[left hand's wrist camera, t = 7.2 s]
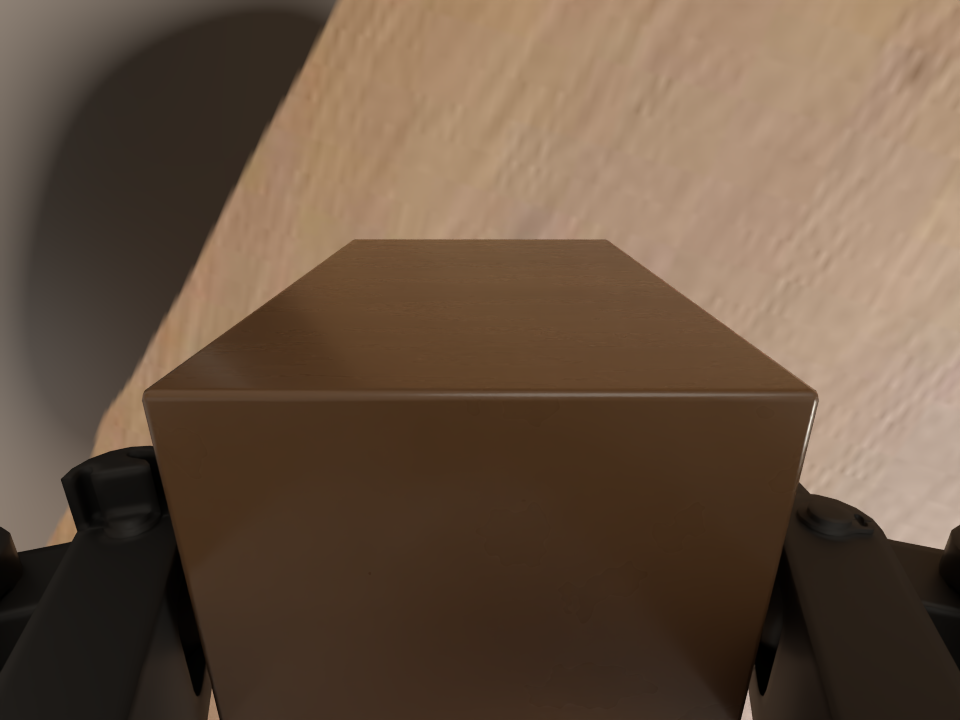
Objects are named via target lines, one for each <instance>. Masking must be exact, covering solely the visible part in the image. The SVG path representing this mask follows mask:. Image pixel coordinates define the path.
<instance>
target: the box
mask: <svg viewBox="0 0 960 720" xmlns="http://www.w3.org/2000/svg"><path fill="white" fill-rule="evenodd" d="M142 402H143V406H144V410H145V414H146V418H147V422H148V427H149V431H150V435H151V439H152V443H153V447H154V451H155V455H156V460H157V464H158V468H159V472H160V476H161V480H162V484H163V488H164V492H165V497H166V501H167V505H168V509H169V513H170V517H171V521H172V525H173V529H174V534H175V538H176V542H177V546H178V550H179V554H180V558H181V562H182V567H183V571H184V575H185V579H186V583H187V587H188V591H189V595H190V599H191V604H192V608H193V612H194V616H195V620H196V624H197V628H198V632H199V637H200V641H201V645H202V649H203V653H204V657H205V661H206V665H207V669H208V674H209V678H210V682H211V686H212V690H213V694H214V698H215V702H216V706H217V711H218V715H219V719H220V720H741V717H742V713H743V709H744V704H745V700H746V696H747V692H748V688H749V684H750V680H751V676H752V672H753V668H754V663H755V659H756V655H757V651H758V647H759V643H760V639H761V635H762V631H763V627H764V623H765V618H766V614H767V610H768V606H769V602H770V598H771V594H772V590H773V586H774V582H775V578H776V573H777V569H778V565H779V561H780V557H781V553H782V549H783V545H784V541H785V537H786V533H787V528H788V524H789V520H790V516H791V512H792V508H793V504H794V500H795V496H796V492H797V487H798V483H799V479H800V475H801V471H802V467H803V463H804V459H805V455H806V451H807V447H808V442H809V438H810V434H811V430H812V426H813V422H814V418H815V414H816V410H817V406H818V402H819V400H818V394H817V392H816V390H814V389H813V388H811V387H810V386H809V385H807V384H806V383H805V382H803V381H802V380H800V379H799V378H798V377H796V376H795V375H793V374H792V373H791V372H789V371H788V370H787V369H785V368H784V367H782V366H781V365H780V364H778V363H777V362H775V361H774V360H773V359H771V358H770V357H769V356H767V355H766V354H764V353H763V352H762V351H760V350H759V349H757V348H756V347H755V346H753V345H752V344H750V343H749V342H748V341H746V340H745V339H744V338H742V337H741V336H739V335H738V334H737V333H735V332H734V331H732V330H731V329H730V328H728V327H727V326H726V325H724V324H723V323H721V322H720V321H719V320H717V319H716V318H714V317H713V316H712V315H710V314H709V313H708V312H706V311H705V310H703V309H702V308H701V307H699V306H698V305H696V304H695V303H694V302H692V301H691V300H690V299H688V298H687V297H685V296H684V295H683V294H681V293H680V292H678V291H677V290H676V289H674V288H673V287H672V286H670V285H669V284H667V283H666V282H665V281H663V280H662V279H660V278H659V277H658V276H656V275H655V274H654V273H652V272H651V271H649V270H648V269H647V268H645V267H644V266H642V265H641V264H640V263H638V262H637V261H636V260H634V259H633V258H631V257H630V256H629V255H627V254H626V253H624V252H623V251H622V250H620V249H619V248H618V247H616V246H615V245H613V244H612V243H611V242H609V241H608V240H353V241H351V242H350V243H348V244H347V245H346V246H344V247H343V248H341V249H340V250H339V251H337V252H336V253H335V254H333V255H332V256H330V257H329V258H328V259H326V260H325V261H323V262H322V263H321V264H319V265H318V266H317V267H315V268H314V269H312V270H311V271H310V272H308V273H307V274H305V275H304V276H303V277H301V278H300V279H299V280H297V281H296V282H294V283H293V284H292V285H290V286H289V287H287V288H286V289H285V290H283V291H282V292H281V293H279V294H278V295H276V296H275V297H274V298H272V299H271V300H269V301H268V302H267V303H265V304H264V305H263V306H261V307H260V308H258V309H257V310H256V311H254V312H253V313H251V314H250V315H249V316H247V317H246V318H245V319H243V320H242V321H240V322H239V323H238V324H236V325H235V326H233V327H232V328H231V329H229V330H228V331H227V332H225V333H224V334H222V335H221V336H220V337H218V338H217V339H215V340H214V341H213V342H211V343H210V344H209V345H207V346H206V347H204V348H203V349H202V350H200V351H199V352H197V353H196V354H195V355H193V356H192V357H191V358H189V359H188V360H186V361H185V362H184V363H182V364H181V365H179V366H178V367H177V368H175V369H174V370H173V371H171V372H170V373H168V374H167V375H166V376H164V377H163V378H161V379H160V380H159V381H157V382H156V383H155V384H153V385H152V386H150V387H149V388H148V389H146V390H145V391H144V393H143V398H142Z"/></svg>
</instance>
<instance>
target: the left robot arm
mask: <svg viewBox="0 0 960 720" xmlns="http://www.w3.org/2000/svg"><path fill="white" fill-rule="evenodd" d="M61 482H62V485H63V488H64V491H65V494H66V497H67V500H68V503H69V507H70V510H71V513H72V516H73V519H74V522H75V525H76V528H77V533H76V535H75V537H74V539H73V540H72V542H69V543H64V544H59V545H53V546H48V547H43V548H38V549H33V550H28V551H23V552H17V551H16V548H15V545H14V542H13V540H12V537H11V534H10V533H9V532H8V531H6V530H5V529H3V528H2V527H0V720H207V719H208V712H209V705H210V697H211V690H212V686H211V682H210V678H209V674H208V669H207V665H206V661H205V657H204V653H203V649H202V645H201V641H200V637H199V632H198V628H197V624H196V620H195V616H194V612H193V608H192V604H191V599H190V595H189V591H188V587H187V583H186V579H185V575H184V571H183V567H182V562H181V558H180V554H179V550H178V546H177V542H176V538H175V534H174V529H173V525H172V521H171V517H170V513H169V509H168V505H167V501H166V497H165V492H164V488H163V484H162V480H161V476H160V472H159V468H158V464H157V460H156V455H155V451H154V447H153V446H138V447H128V448H124V449H119V450H114V451H110V452H107V453H104V454H102V455H99V456H96V457H93V458H91V459H88V460H87V461H85V462H83V463H81V464H79V465H78V466H76V467H74V468H72V469H71V470H70V471H69V472H68V473H67V474H66V475H65V476H64V477H63V478H62V479H61ZM748 689H749V696H750V703H751V710H752V717H753V720H960V525H959V526H957V527H956V528H954V529H953V530H952V531H951V533H950V536H949V539H948V541H947V544H946V547H945V549H944V550H941V549H936V548H931V547H925V546H920V545H915V544H910V543H905V542H900V541H894V540H890V539H887V538H886V536H885V534H884V532H883V530H882V529H881V528H880V527H879V526H878V525H877V524H876V522H875V521H874V520H873V519H872V518H870V517H869V516H867V515H866V514H864V513H863V512H861V511H860V510H858V509H857V508H855V507H853V506H850V505H848V504H846V503H843V502H841V501H839V500H836V499H832V498H828V497H824V496H820V495H815V494H810V493H809V492H808V491H807V490H806V489H805V488H804V487H803V486H802V485H801V484H800V483H798V487H797V492H796V496H795V500H794V504H793V508H792V512H791V516H790V520H789V524H788V528H787V533H786V537H785V541H784V545H783V549H782V553H781V557H780V561H779V565H778V569H777V573H776V578H775V582H774V586H773V590H772V594H771V598H770V602H769V606H768V610H767V614H766V618H765V623H764V627H763V631H762V635H761V639H760V643H759V647H758V651H757V655H756V659H755V663H754V668H753V672H752V676H751V680H750V684H749V688H748Z"/></svg>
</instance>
